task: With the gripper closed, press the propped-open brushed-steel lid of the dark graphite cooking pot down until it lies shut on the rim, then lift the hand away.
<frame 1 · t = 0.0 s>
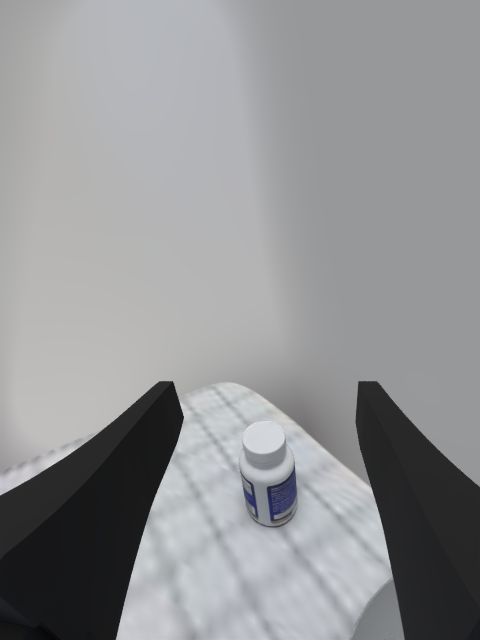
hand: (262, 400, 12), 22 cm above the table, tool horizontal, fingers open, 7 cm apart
pill bottle: (271, 502, 30), on the table
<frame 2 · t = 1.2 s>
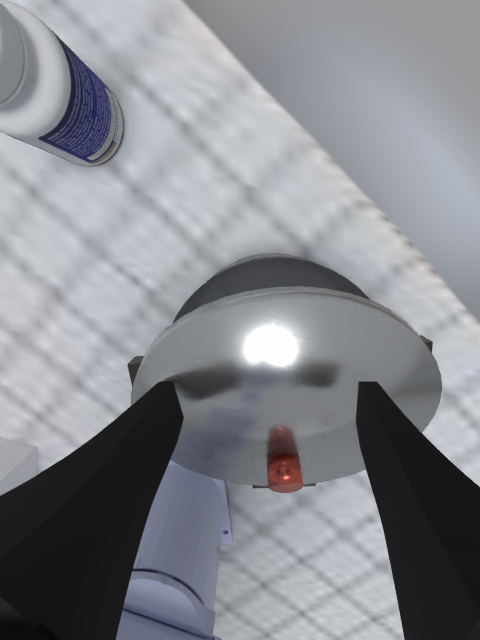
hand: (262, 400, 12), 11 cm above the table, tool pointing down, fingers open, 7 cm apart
cooking pot: (270, 340, 22), on the table
pot lid: (281, 427, 14), point 10 cm above the table, hinge at 22.9°
pill bottle: (87, 124, 19), on the table
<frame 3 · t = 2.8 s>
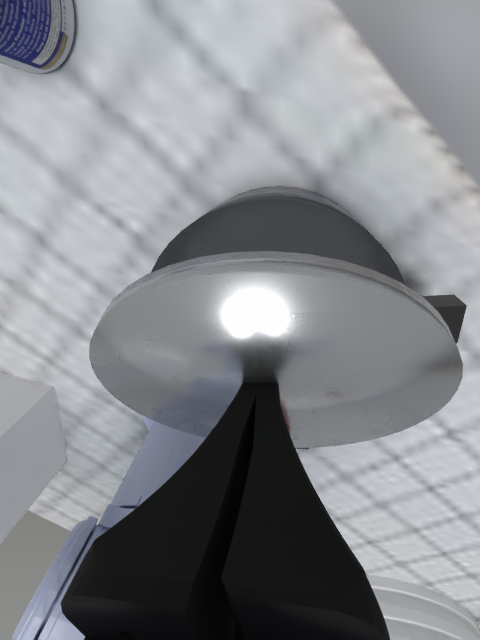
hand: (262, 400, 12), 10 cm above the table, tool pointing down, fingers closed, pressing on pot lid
cooking pot: (274, 291, 20), on the table
pot lid: (263, 404, 12), point 9 cm above the table, hinge at 22.5°, touching gripper
pill bottle: (30, 9, 15), on the table
plate stack: (363, 617, 42), on the table
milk: (9, 411, 31), on the table
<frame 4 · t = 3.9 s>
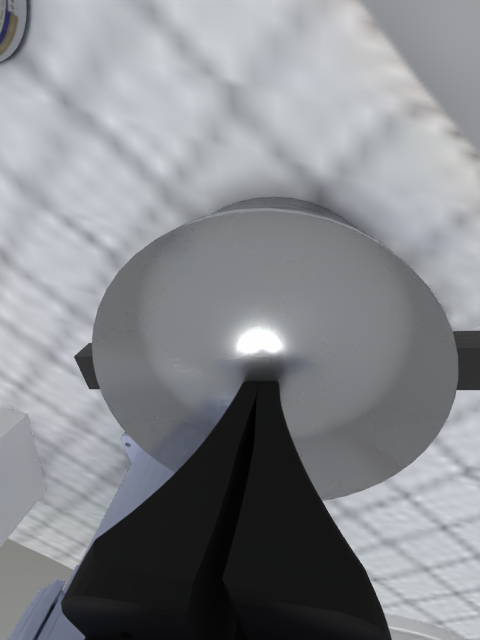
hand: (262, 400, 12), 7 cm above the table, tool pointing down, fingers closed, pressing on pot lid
cooking pot: (269, 316, 17), on the table
pot lid: (258, 404, 11), point 7 cm above the table, hinge at -0.5°, touching cooking pot, gripper
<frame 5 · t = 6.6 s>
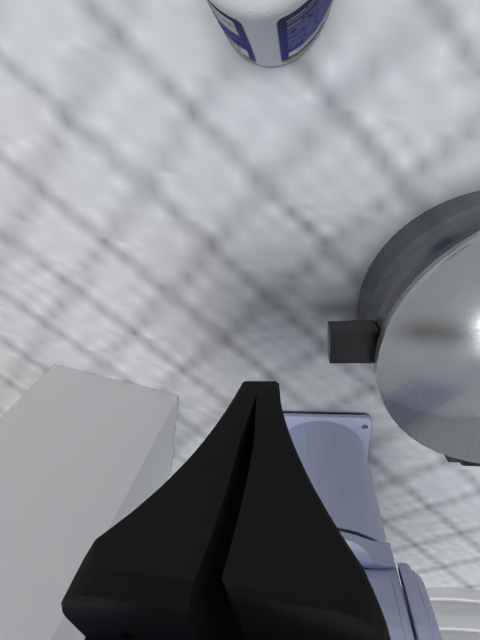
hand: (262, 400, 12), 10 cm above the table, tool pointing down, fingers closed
cooking pot: (466, 299, 19), on the table
plate stack: (452, 631, 41), on the table
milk: (119, 420, 30), on the table
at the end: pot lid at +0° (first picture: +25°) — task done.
